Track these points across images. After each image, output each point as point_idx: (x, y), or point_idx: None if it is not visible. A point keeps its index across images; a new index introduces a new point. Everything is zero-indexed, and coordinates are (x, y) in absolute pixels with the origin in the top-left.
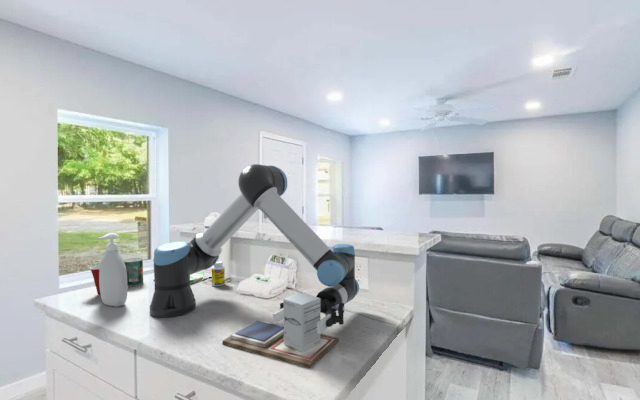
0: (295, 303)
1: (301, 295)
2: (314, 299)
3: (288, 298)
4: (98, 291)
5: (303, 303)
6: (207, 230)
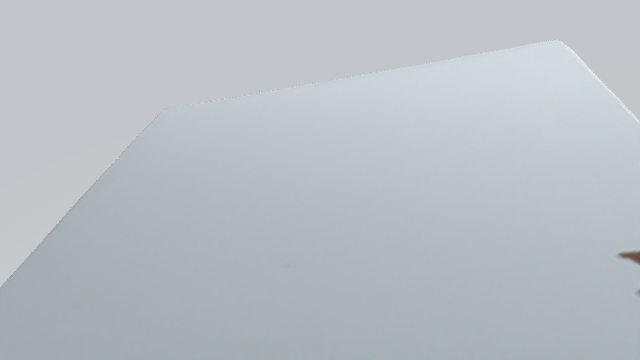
0: (286, 92)
1: (466, 205)
2: (29, 271)
3: (514, 64)
4: None
5: (167, 122)
6: None
